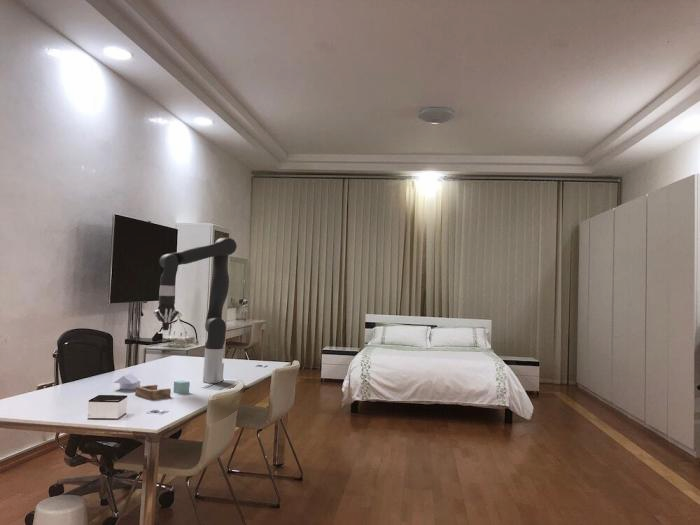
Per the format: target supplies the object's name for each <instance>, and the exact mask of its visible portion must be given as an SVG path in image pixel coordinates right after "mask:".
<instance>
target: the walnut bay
mask: <svg viewBox="0 0 700 525" xmlns="http://www.w3.org/2000/svg"><path fill="white" fill-rule="evenodd" d="M134 390H135V393H134V395H135V396H137V397H140V398H144V399H147V400H150V401H151V400H152V401H153V400H159V399H165V398H171V393H172V391H171V388H169V387H168V388H160V389H158V384H148V385H140V386H139V387H136V389H134Z"/></svg>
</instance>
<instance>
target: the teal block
mask: <svg viewBox="0 0 700 525" xmlns="http://www.w3.org/2000/svg"><path fill="white" fill-rule="evenodd" d="M190 383H191V382H190V381H188V380H176V381H173V393H175V394H179V395H182V394H183V395H184V394H187V393H188V394H189V393H190Z"/></svg>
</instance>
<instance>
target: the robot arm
mask: <svg viewBox="0 0 700 525" xmlns="http://www.w3.org/2000/svg"><path fill="white" fill-rule="evenodd" d="M237 246H238V245H237V243H236V241H235V240H234V239H233V238H232V237H220V238H218V239H217V240H216V241H215V242H214V243H213V244H207V245H203V246H195V247H192V248H187V249H183V250H180V251H177V252H171V253H166V254H163V255H161V256H160V258H159V261H158V262H159V265H160V267H162V268H163V272H162V274H161V275H160V284H159V292H158V293H159V294H158V307H157V309H156V310H154V311H153V314H154V315H155V316H154V317H156V318H157V320H158V321H159V322H161V324H162V326H161V329H162V330H163V331H168V330H169V329H170V323H171V322H174V320H175V318H176V317H177V316H178V314H179V311H178V310H177V309H176V308H175V304H176V276H177V273H178V269H179V265H188V264H191V263H194V262H198V261H201V260H205V259H209V258H212V257H213V265H212V276H211V281H210V290H209V302H208V311H207V315H206V318H205V323H204V327H205V330H206V332H207V339H206V342H205V344H204V358H203V361H204V363H203V375H202V382H203V383H207V384H208V383H209V384H217V383H221V381H222V382H224V381H223V380H224V379H223V378H224V366H225V365H224V364H225V363H224V362H223V361H224V360H223V357H224V346H225V343H226V333H227V325H226V324H227V323H226V322H225V320H224V319H222V318H223V308H224V305H225V302H226V300H227V297H228V295H229V287H230V276H229V271H228V266H227V265H228V263H227V262H228V257H229V256H230V255H232V254H234V253H235V252H236V251H237V249H238V248H237Z"/></svg>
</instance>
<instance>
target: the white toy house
mask: <svg viewBox="0 0 700 525" xmlns="http://www.w3.org/2000/svg"><path fill="white" fill-rule="evenodd" d="M113 384H119V389H123V390H136V387H139V386H141V379H140V378H137V377H136V376H135V375H134V374H133V373H131V372H130V373H128V374H125V375H122V377H119V379H117V380H116V381H114V382H113Z"/></svg>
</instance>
